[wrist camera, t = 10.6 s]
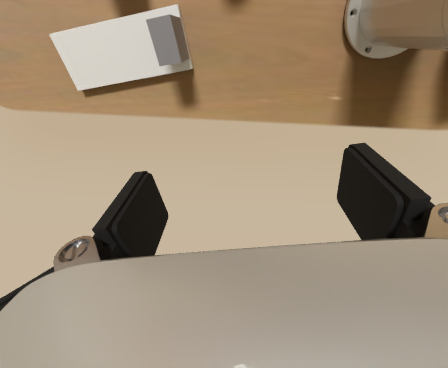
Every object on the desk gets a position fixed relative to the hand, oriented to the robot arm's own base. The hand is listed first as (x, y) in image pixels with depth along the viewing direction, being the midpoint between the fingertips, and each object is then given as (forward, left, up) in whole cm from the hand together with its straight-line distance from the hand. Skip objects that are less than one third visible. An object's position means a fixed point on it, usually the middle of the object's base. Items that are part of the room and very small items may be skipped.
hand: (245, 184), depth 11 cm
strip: (+17, -7, -30) cm, 35 cm away
